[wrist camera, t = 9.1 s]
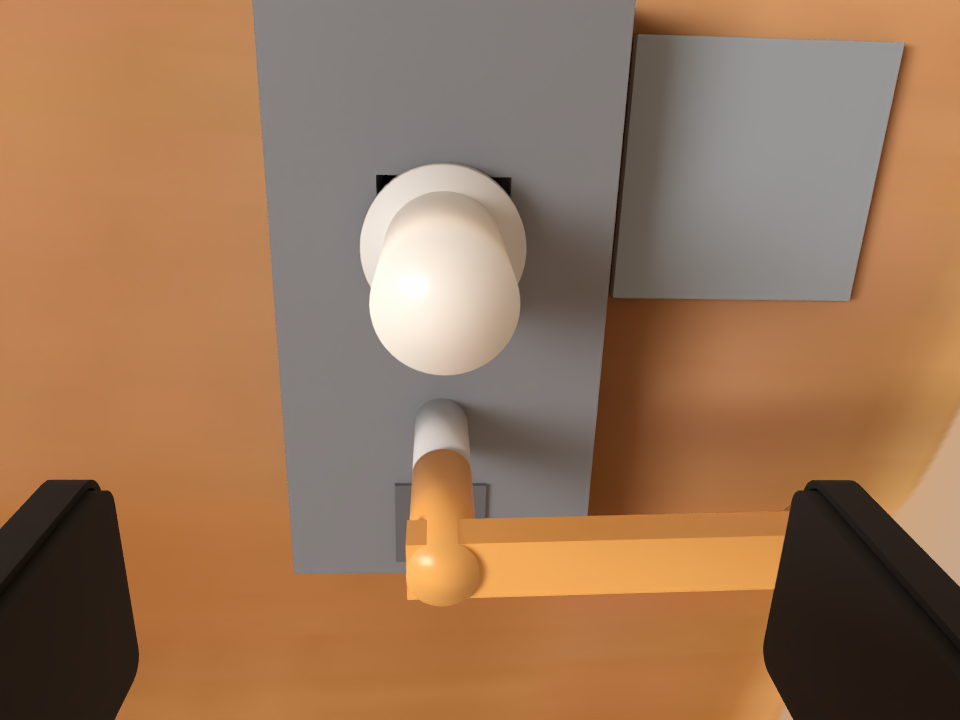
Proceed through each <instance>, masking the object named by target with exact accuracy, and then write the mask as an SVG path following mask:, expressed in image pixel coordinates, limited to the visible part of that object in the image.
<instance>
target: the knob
mask: <svg viewBox="0 0 960 720" xmlns="http://www.w3.org/2000/svg"><path fill="white" fill-rule="evenodd" d="M360 257H361V263H362V267H363V271H364V274H365V277H366V279H367V281H368V283H369V285H370V287H371V291H370V300H369V308H370V316H371V320H372V324H373V327H374V329H375V332H376V334H377V336H378V338H379V339H380V341H381V343H382V344H383V345H384V347H385V348H386V349H387V350H388V351H389V352H390V353H391V354H392V355H393V356H394V357H395V358H396V359H398V360H399V361H400V362H402V363H403V364H405V365H407V366H408V367H411V368H413V369H415V370H417V371H421V372H424V373H428V374H433V375H457V374H462V373H466V372H469V371H472V370H475V369H477V368H479V367H481V366H483V365H485V364H486V363H488V362H490V361H491V360H492V359H493V358H495V357H496V356H497V355H498V354H499V353H500V352H501V351H502V350H503V349H504V348H505V346H506V345H507V344H508V342H509V341H510V339H511V337H512V335H513V334H514V331H515V329H516V326H517V323H518V319H519V314H520V293H519V287H518V283H519V281H520V278H521V276H522V273H523V269H524V266H525V260H526V236H525V230H524V227H523V223H522V220H521V218H520V216H519V213H518V211H517V209H516V207H515V205H514V203H513V202H512V200H511V198H510V197H509V195H508V194H507V193H506V192H505V190H504V189H503V188H502V187H501V186H500V185H499V184H498V183H497V182H496V181H495V180H493V179H492V178H491V177H489V176H488V175H486V174H485V173H483V172H481V171H479V170H477V169H475V168H472V167H470V166H467V165H463V164H459V163H453V162H432V163H426V164H422V165H418V166H415V167H412V168H410V169H408V170H406V171H404V172H402V173H401V174H399V175H397V176H396V177H394V178H393V179H392V180H391V181H390V182H388V183H387V184H386V185H385V186H384V187H383V189H382V190H381V191H380V192H379V193H378V195H377V196H376V198H375V199H374V201H373V202H372V204H371V206H370V208H369V211H368V213H367V215H366V218H365V221H364V224H363V227H362V231H361V237H360Z"/></svg>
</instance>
